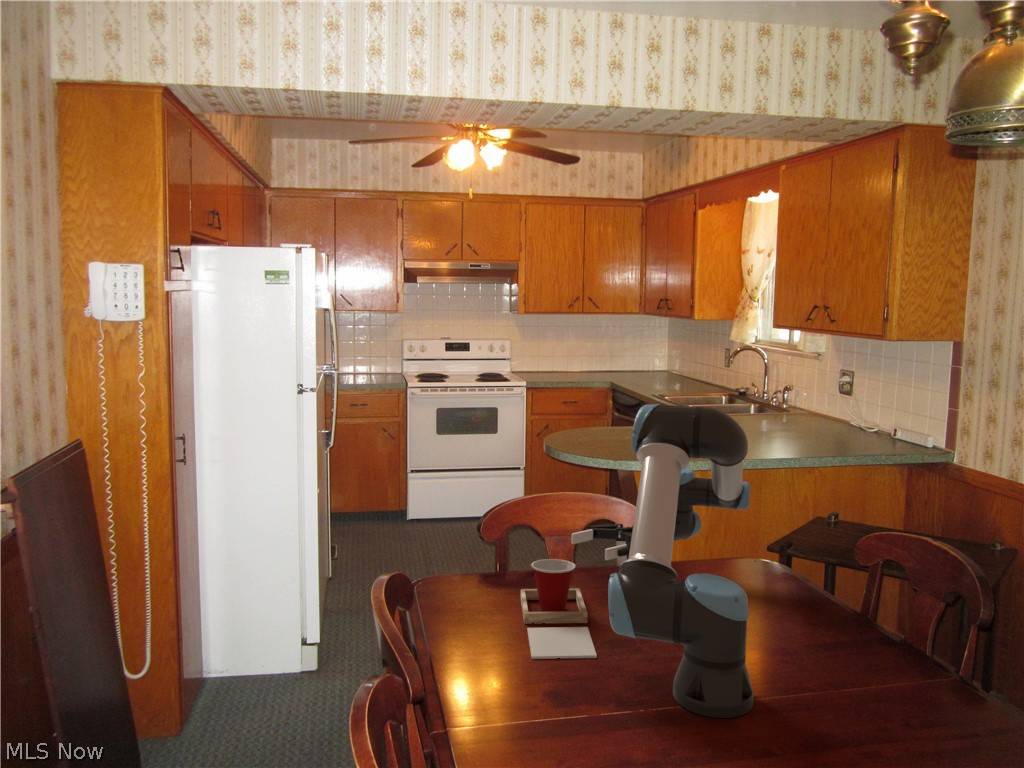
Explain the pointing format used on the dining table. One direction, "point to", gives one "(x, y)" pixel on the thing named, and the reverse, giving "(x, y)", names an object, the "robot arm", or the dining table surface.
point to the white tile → (560, 643)
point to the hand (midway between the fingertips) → (588, 546)
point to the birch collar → (555, 616)
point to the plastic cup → (553, 583)
